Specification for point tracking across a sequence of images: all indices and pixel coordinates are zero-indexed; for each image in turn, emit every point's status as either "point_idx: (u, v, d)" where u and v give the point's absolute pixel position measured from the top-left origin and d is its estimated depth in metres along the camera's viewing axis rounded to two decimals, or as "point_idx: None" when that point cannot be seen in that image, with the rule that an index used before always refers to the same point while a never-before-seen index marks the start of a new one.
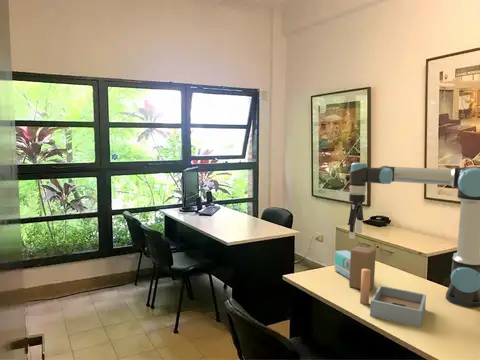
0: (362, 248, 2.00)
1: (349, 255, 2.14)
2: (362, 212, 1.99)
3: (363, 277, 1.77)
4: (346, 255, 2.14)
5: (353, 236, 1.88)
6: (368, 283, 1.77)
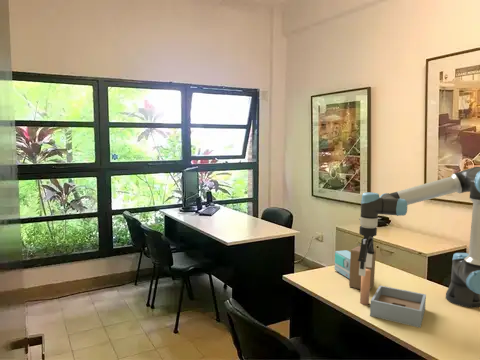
0: None
1: (349, 255, 2.14)
2: (373, 245, 1.84)
3: (363, 277, 1.77)
4: (346, 255, 2.14)
5: (363, 273, 1.72)
6: (368, 283, 1.77)
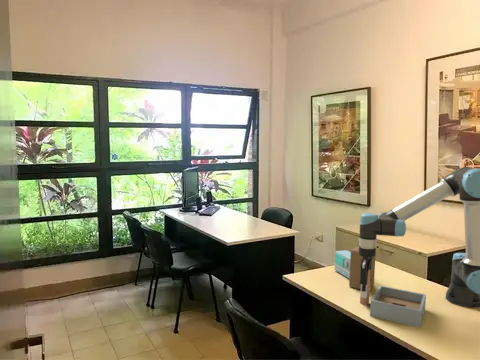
0: None
1: (349, 255, 2.14)
2: None
3: None
4: (346, 255, 2.14)
5: (365, 295, 1.77)
6: (368, 283, 1.77)
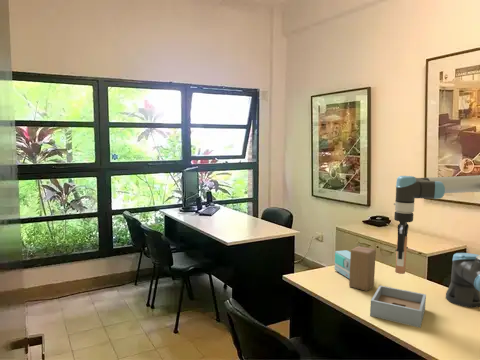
0: (362, 248, 2.00)
1: (349, 255, 2.14)
2: None
3: None
4: (346, 255, 2.14)
5: (402, 263, 1.66)
6: (405, 250, 1.66)
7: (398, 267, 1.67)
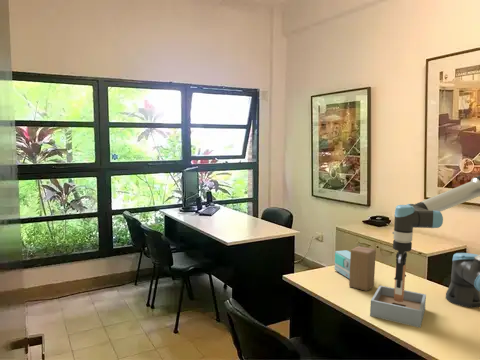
0: (362, 248, 2.00)
1: (349, 255, 2.14)
2: None
3: None
4: (346, 255, 2.14)
5: (400, 292, 1.67)
6: (403, 279, 1.68)
7: (396, 295, 1.69)
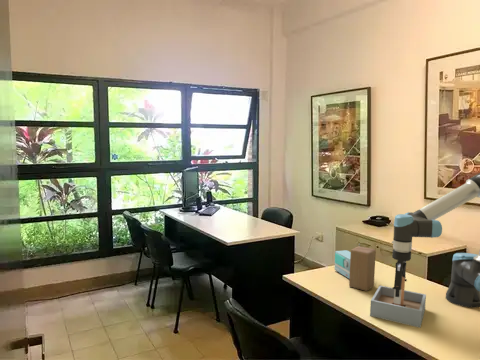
0: (362, 248, 2.00)
1: (349, 255, 2.14)
2: (405, 271, 1.75)
3: None
4: (346, 255, 2.14)
5: (399, 301, 1.65)
6: (402, 291, 1.68)
7: None
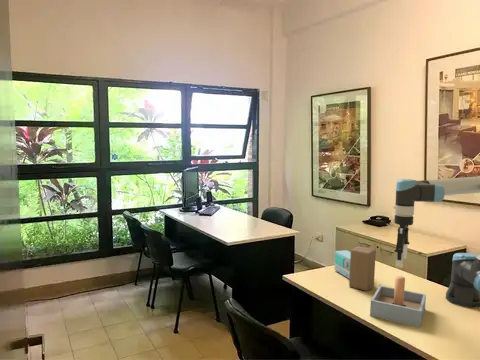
0: (362, 248, 2.00)
1: (349, 255, 2.14)
2: (407, 235, 1.74)
3: (397, 285, 1.68)
4: (346, 255, 2.14)
5: (401, 265, 1.62)
6: (402, 291, 1.68)
7: None
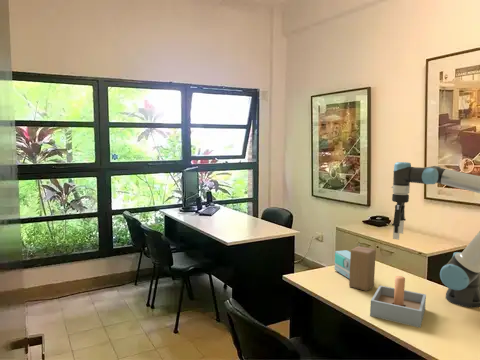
0: (362, 248, 2.00)
1: (349, 255, 2.14)
2: None
3: (397, 285, 1.68)
4: (346, 255, 2.14)
5: (397, 237, 1.84)
6: (402, 291, 1.68)
7: None
